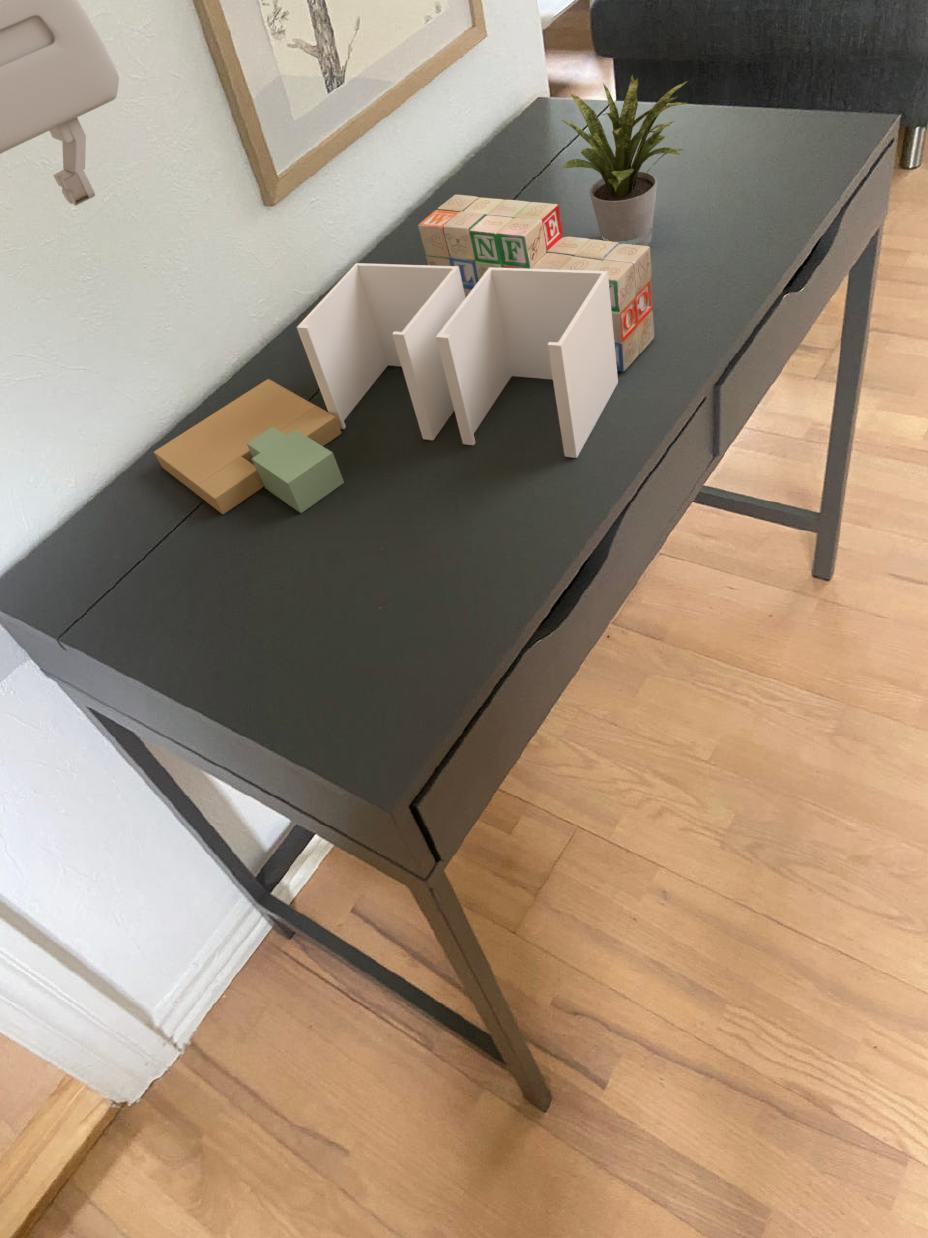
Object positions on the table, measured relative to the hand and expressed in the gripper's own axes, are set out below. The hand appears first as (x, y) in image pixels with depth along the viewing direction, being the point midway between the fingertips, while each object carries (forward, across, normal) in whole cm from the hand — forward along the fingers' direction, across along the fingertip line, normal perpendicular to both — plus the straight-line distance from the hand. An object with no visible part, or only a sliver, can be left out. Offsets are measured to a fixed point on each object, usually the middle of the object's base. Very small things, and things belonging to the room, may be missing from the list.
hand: (18, 232), depth 59 cm
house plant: (+29, -58, -1) cm, 65 cm away
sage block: (+29, -11, -1) cm, 31 cm away
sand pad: (+29, -11, -9) cm, 32 cm away
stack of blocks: (+29, -40, +3) cm, 50 cm away
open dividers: (+29, -28, +5) cm, 41 cm away
